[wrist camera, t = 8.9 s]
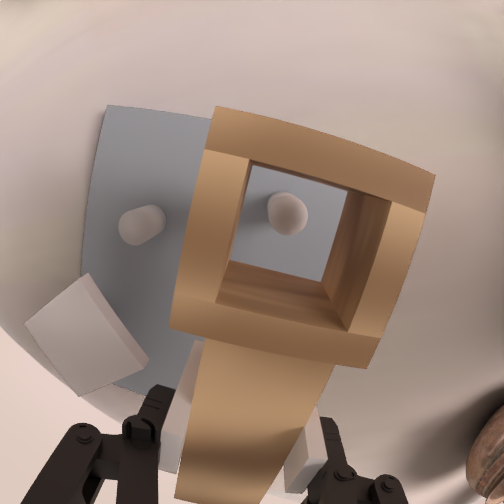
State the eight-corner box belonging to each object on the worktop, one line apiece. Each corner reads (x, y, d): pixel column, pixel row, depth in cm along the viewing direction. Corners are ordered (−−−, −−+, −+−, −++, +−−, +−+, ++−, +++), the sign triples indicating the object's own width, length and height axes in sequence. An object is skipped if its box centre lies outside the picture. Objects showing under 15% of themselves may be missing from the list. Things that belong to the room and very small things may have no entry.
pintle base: (104, 106, 22) (43, 86, 14) (351, 158, 23) (396, 152, 14) (79, 360, 29) (39, 407, 20) (266, 415, 29) (266, 481, 21)
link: (231, 130, 13) (215, 105, 8) (379, 172, 13) (435, 175, 8) (170, 435, 17) (152, 492, 12) (272, 455, 18) (274, 514, 13)
